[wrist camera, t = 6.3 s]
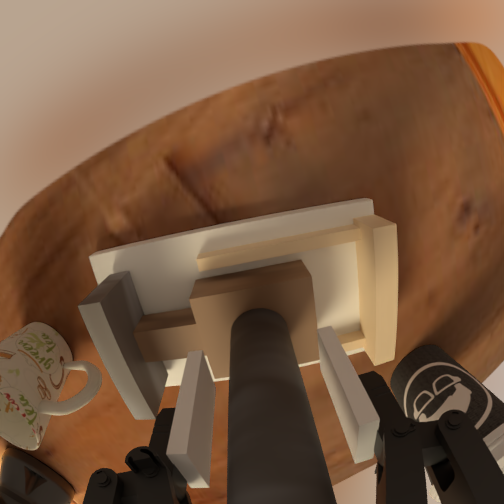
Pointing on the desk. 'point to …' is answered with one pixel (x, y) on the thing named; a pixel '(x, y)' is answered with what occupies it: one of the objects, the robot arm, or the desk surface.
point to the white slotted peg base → (276, 252)
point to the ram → (229, 369)
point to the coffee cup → (447, 396)
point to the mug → (38, 383)
